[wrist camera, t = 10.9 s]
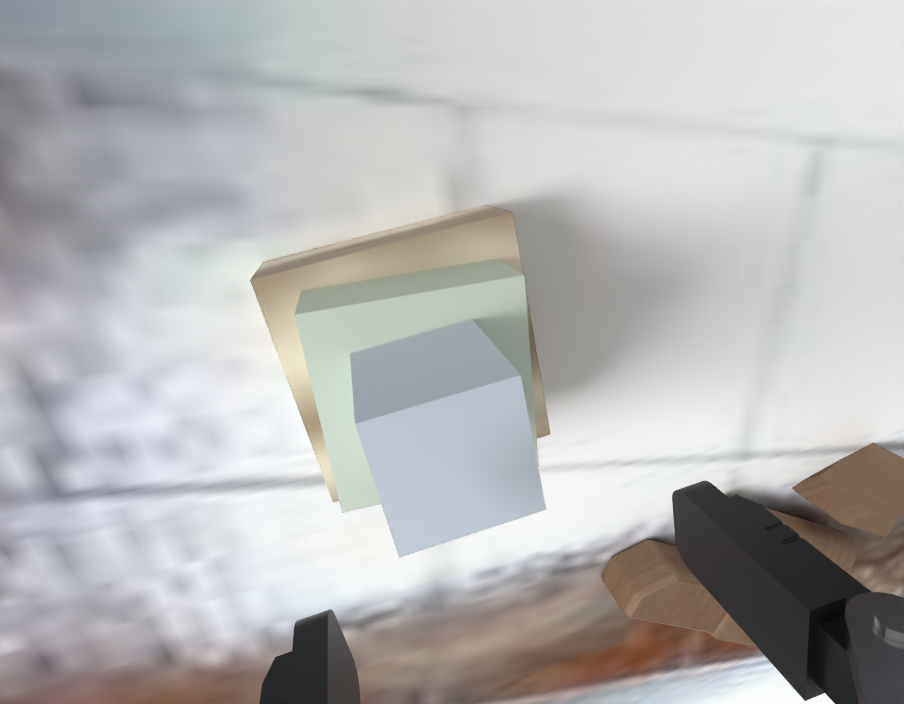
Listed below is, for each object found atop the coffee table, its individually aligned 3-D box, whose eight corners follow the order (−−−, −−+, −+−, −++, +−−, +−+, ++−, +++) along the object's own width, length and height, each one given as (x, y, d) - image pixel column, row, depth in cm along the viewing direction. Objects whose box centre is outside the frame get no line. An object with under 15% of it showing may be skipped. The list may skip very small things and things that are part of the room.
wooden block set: (819, 669, 40) (631, 637, 34) (763, 611, 45) (592, 574, 40) (955, 484, 36) (768, 413, 30) (877, 443, 41) (704, 376, 36)
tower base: (264, 260, 27) (250, 279, 23) (483, 204, 29) (512, 212, 24) (333, 453, 32) (333, 502, 27) (520, 396, 33) (550, 434, 28)
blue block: (350, 353, 20) (355, 423, 15) (472, 319, 21) (520, 374, 15) (383, 459, 22) (399, 557, 17) (495, 425, 23) (546, 509, 17)
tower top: (300, 291, 23) (294, 314, 19) (495, 258, 25) (524, 275, 21) (340, 464, 26) (342, 512, 23) (511, 427, 28) (538, 467, 24)
